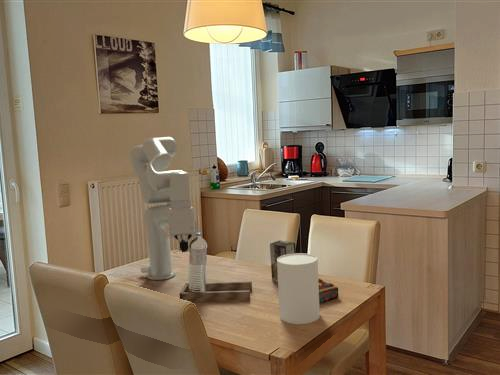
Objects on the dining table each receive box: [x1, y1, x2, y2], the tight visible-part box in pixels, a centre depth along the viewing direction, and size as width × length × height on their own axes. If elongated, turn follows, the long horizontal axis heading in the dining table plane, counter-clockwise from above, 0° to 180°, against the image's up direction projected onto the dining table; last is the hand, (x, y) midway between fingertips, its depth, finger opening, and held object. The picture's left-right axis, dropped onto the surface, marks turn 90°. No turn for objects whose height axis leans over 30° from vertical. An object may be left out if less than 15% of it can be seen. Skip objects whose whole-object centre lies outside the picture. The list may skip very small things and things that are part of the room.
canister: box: [277, 252, 321, 325], centre depth 167 cm, size 14×14×20 cm
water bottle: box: [188, 232, 208, 292], centre depth 191 cm, size 7×7×25 cm
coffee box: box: [269, 240, 297, 283], centre depth 205 cm, size 9×6×16 cm
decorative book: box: [318, 278, 339, 306], centre depth 186 cm, size 11×16×5 cm
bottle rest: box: [179, 280, 253, 303], centre depth 192 cm, size 27×12×4 cm, turn 86°
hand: (184, 251), depth 190 cm, fingers closed
